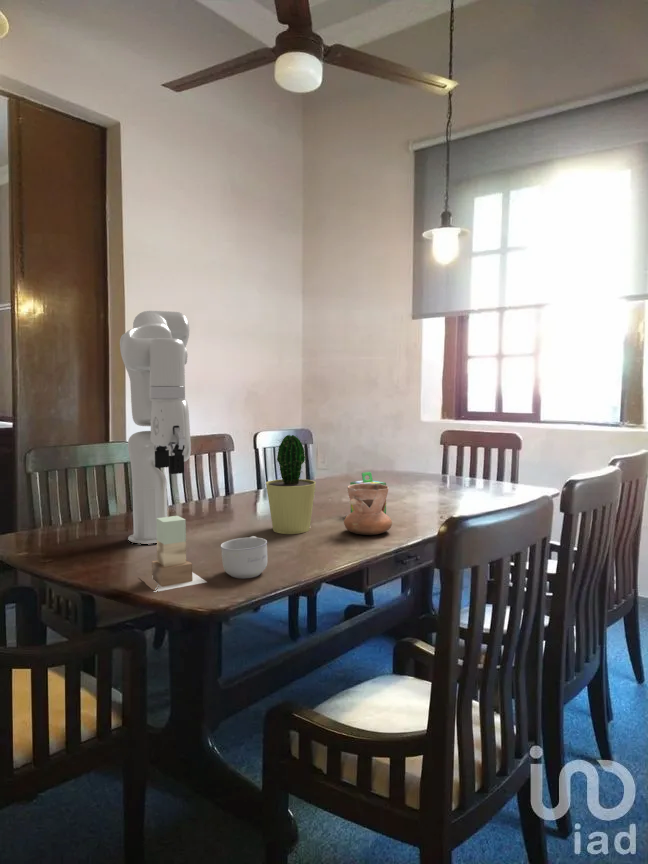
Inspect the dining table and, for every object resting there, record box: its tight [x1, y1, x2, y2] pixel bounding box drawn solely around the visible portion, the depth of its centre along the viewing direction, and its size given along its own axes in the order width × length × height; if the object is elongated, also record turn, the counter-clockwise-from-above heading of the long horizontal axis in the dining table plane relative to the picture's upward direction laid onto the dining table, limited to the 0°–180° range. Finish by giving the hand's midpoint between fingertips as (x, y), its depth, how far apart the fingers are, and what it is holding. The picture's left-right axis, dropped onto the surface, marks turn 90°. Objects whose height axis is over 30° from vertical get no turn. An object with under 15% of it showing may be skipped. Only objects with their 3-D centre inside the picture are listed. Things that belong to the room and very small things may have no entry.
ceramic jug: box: [343, 483, 393, 536], centre depth 186 cm, size 18×14×14 cm
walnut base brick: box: [151, 559, 193, 587], centre depth 139 cm, size 7×7×4 cm
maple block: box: [156, 540, 187, 567], centre depth 139 cm, size 5×5×5 cm
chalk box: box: [349, 471, 387, 515], centre depth 210 cm, size 9×9×15 cm
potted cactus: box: [265, 434, 317, 535], centre depth 189 cm, size 15×15×30 cm
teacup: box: [220, 535, 268, 579], centre depth 145 cm, size 14×11×8 cm
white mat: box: [153, 571, 207, 593], centre depth 139 cm, size 12×12×1 cm
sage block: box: [156, 515, 187, 545], centre depth 138 cm, size 5×5×5 cm
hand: (169, 470), depth 138 cm, fingers open, 9 cm apart
